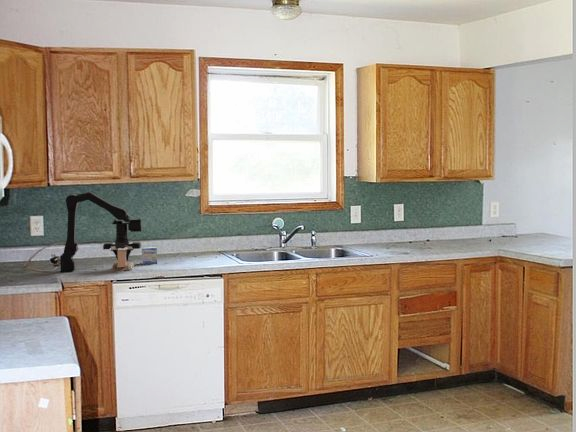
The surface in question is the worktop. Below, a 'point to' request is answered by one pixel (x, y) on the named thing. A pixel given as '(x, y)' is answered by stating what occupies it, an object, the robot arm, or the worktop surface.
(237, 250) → the worktop surface
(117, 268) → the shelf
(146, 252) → the medicine box
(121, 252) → the box
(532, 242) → the worktop surface
